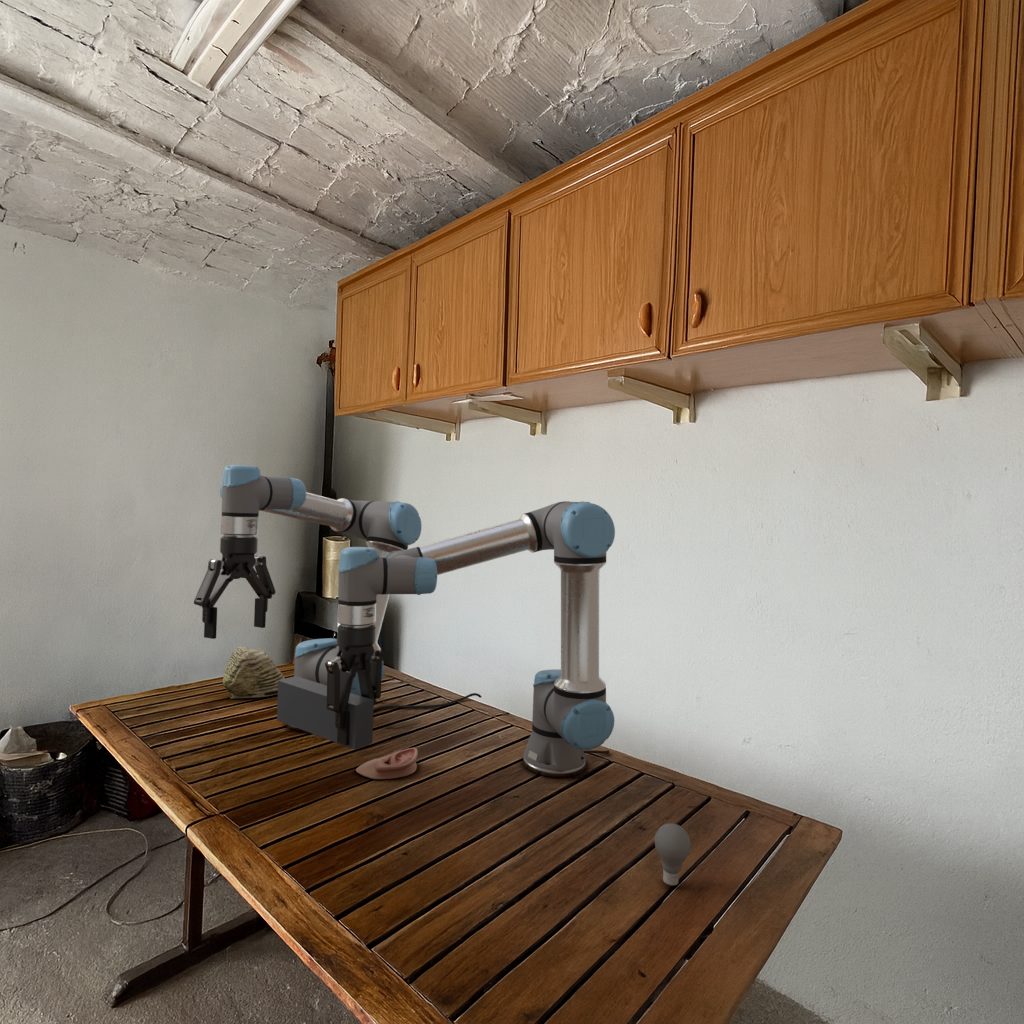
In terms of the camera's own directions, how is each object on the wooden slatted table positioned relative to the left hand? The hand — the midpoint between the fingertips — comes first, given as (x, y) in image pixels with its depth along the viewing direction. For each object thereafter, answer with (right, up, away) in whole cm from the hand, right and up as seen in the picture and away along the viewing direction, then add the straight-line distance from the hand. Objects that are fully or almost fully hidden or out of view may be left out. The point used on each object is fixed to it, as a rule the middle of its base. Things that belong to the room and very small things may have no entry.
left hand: (235, 632), depth 139 cm
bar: (+21, -20, -6) cm, 29 cm away
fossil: (-20, -31, +59) cm, 69 cm away
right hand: (+29, -19, -12) cm, 37 cm away
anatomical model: (+32, -34, +9) cm, 47 cm away
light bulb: (+88, -37, -31) cm, 100 cm away
